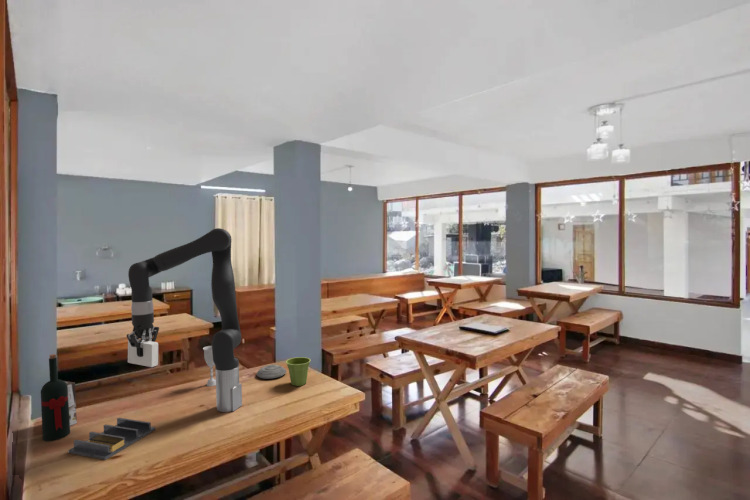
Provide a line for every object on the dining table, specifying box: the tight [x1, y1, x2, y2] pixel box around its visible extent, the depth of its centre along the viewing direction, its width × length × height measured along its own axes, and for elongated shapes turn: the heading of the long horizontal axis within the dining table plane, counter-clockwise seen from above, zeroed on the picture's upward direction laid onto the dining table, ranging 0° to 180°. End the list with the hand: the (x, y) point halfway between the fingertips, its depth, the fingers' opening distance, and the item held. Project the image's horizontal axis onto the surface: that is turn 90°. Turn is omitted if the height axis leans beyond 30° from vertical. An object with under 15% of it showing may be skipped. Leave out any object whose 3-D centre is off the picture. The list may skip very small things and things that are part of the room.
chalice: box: [202, 345, 216, 387], centre depth 189 cm, size 7×7×18 cm
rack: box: [68, 417, 156, 461], centre depth 139 cm, size 16×20×4 cm
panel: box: [127, 339, 159, 368], centre depth 156 cm, size 12×3×9 cm, turn 74°
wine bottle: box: [40, 353, 71, 442], centre depth 141 cm, size 8×10×30 cm
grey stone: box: [255, 364, 287, 380], centre depth 201 cm, size 15×15×6 cm
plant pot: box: [285, 356, 312, 387], centre depth 189 cm, size 12×12×11 cm
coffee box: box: [41, 380, 78, 427], centre depth 150 cm, size 9×6×16 cm
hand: (144, 354), depth 155 cm, fingers closed on panel, 3 cm apart
